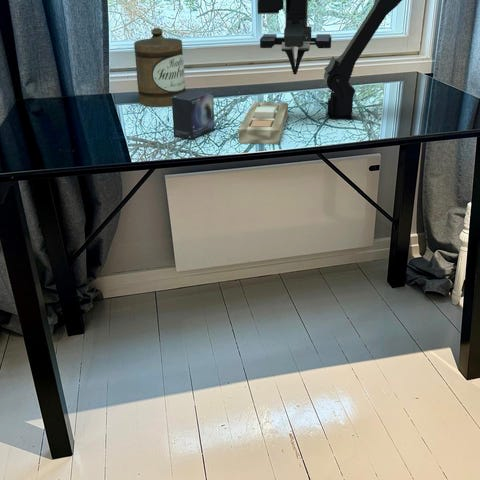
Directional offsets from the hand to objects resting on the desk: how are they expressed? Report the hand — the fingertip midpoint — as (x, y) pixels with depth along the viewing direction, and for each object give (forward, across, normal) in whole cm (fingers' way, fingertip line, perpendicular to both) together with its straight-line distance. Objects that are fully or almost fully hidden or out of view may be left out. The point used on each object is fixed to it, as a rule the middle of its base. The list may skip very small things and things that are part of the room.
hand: (295, 74), depth 154 cm
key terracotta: (+11, -7, -19) cm, 23 cm away
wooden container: (+12, -43, +15) cm, 47 cm away
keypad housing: (+12, -7, -11) cm, 18 cm away
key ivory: (+10, -7, -11) cm, 16 cm away
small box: (+12, -25, -17) cm, 33 cm away
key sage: (+11, -7, -3) cm, 13 cm away
